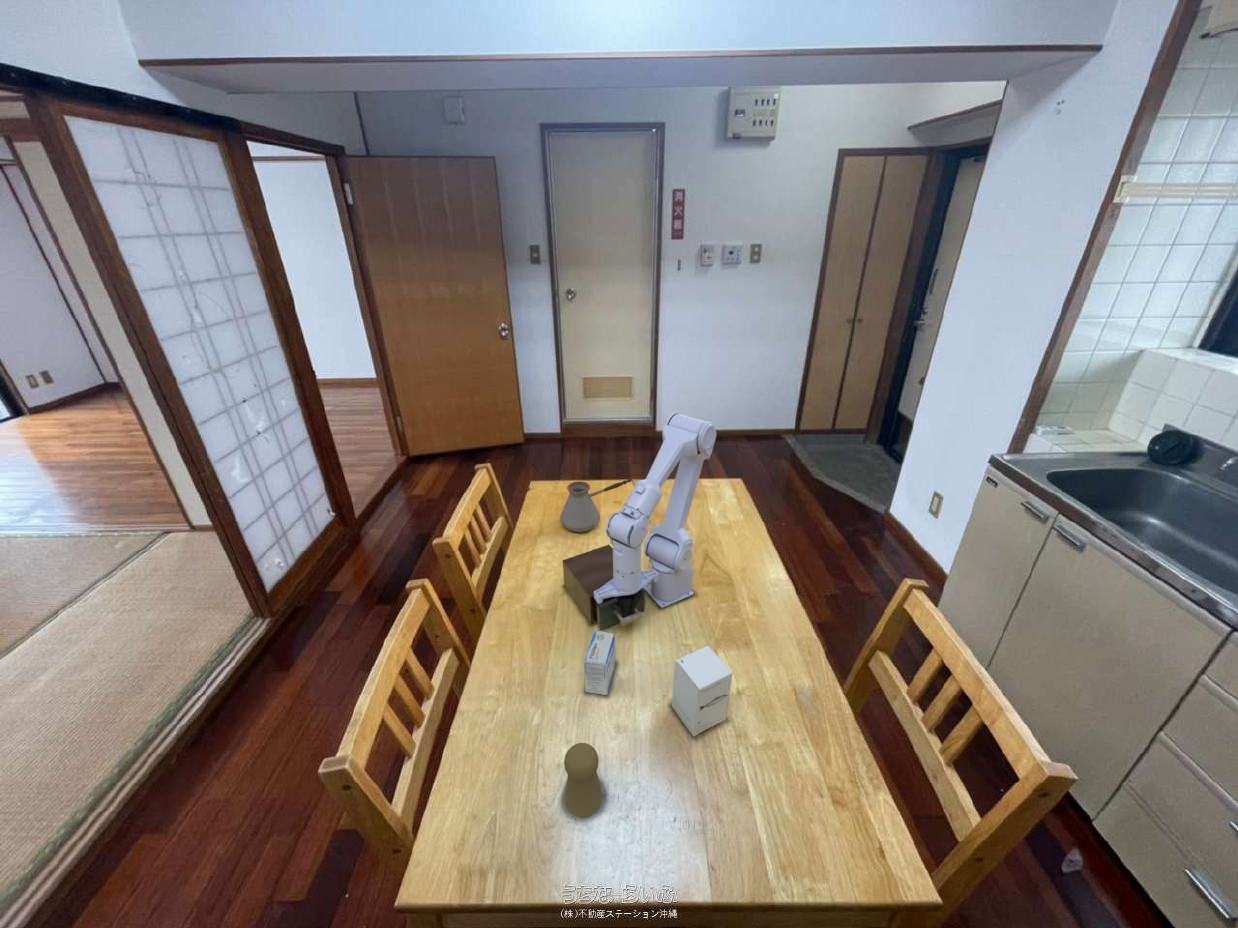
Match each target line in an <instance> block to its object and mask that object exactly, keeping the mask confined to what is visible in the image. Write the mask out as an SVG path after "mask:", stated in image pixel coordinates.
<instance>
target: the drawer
mask: <svg viewBox="0 0 1238 928" xmlns="http://www.w3.org/2000/svg"><path fill="white" fill-rule="evenodd" d="M641 590H642V592H643V597H642V598H641V599H640V600H639V601H638V603H637V605H636V607H635V609H634V612H633V614H632V615H630V616H627V617H624V616H623V614H622V611H621V608H620V605H619V602H618V600H617V598H616V597H609V598H606V599H604V600H603V602H602V603H600V604H598V603H597V602H596V600H595V599H594V598H593V608H594V616H595V618H596V619H597V622H596V623H597V628H598V629H599V631H601V630H604V629H607V628H609V627H611V626H613V625H616V624H618V623H620V625H621V626H626V625H628V624H631V623H633V622H635V621H638V620H640V619H642V618H644V614H643V613H645V602H646V601H645V597H646V591H645V590H644V587H643V588H642V589H641Z"/></svg>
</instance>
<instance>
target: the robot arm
mask: <svg viewBox="0 0 1238 928" xmlns="http://www.w3.org/2000/svg"><path fill="white" fill-rule="evenodd" d="M661 434H662V435H661V436H662V444H661V446H660V448H659V450H658V453H657V454H656V457H655V459H654V461H653V462H652V465H651V467H650V469H649V471H648V473H647V476H646V478H645V479H642V480H639V481H637V483H636V484H635V485H634V488H633V489H632V491H631V493H630V494H629V496H628V497H627V499H626V501H625V503H624V504H623V506H622V507H621V509H620V511H618V512H617V511H616V512H614V513H613V514H612V515H611V516H610V518H609V520H608V521H607V527H606V529H605V534H606V536H607V537H608V538H609V543H610V544H609V545H611V547H612V548H613V579H612V580H610V581H609V582H608V583H606V584H605V585H604V586H602V587H601V588H600V589H598V590H596V591H594V599H595V600H596V602H597V603H598V604H600V603H602V602H603V600H604V599H606V598H609V597H616V598H617V600H618V602H619V605H620V608H621V611H622V614H623V616H624V617H627V616H630V615H632V614H633V612H634V609H635V607H636V605H637V603H638V601H639V600H640V599H641V598H642V597H643V592H642V590H641V589H642V588H643V589H644V590H645V593H647V594H648V595H649V597H650V598H651V599H652V600H653V601H654V602H655V604H657V605H658V606H659V608H660V609H663V608H666V607H669V606H671V605H673V604H675V603H678V602H679V601H682V600H685V599H686V598H689V597H692V596H694V591H693V577H694V569H693V565H692V563H691V560H692V557H693V556H692V555H693V544H694V539H693V537H692V536H691V535H690V533H689V531H687V529H686V526H687V521H688V520H689V519H688V518H689V515H690V511H691V507H692V504H693V501H694V497H695V493H696V490H697V488H698V483H699V479H700V476H701V472H702V469H703V466H704V462H705V460H710V458H711V455H712V453H713V449H714V447H715V442H716V439H717V429H716V427H715V424H714V423H713V421H712V422H711V421H706V420H702V419H699V418H695V417H691V416H688V415H684V414H681V413H680V412H673V413H671V414H669V416H668V417H667V418H666V420H665V422H664V425H663V428H662V432H661ZM678 463H679V464H678ZM677 465H678V467H677V471H676V474H675V477H674V481H673V485H672V489H671V493H670V496H669V499H668V503H667V507H666V510H665V514H664V518H663V521H662V523H659V524H656V525H654V526H653V527H651V530H650V533H649V535H648V532H649V527H650V525H651V520H650V518H651V517H652V515H653V513H654V512H655V510H656V509H657V507H658V505H659V503H660V501H661V499H662V497H663V491H662V487H663V485H664V484H665V482H666V481H667V479H668V478H669V476H670V475H671V474H672V472H673V471H674V469H675V468H676V466H677ZM647 535H648V537H647ZM644 541H645V543H644ZM643 543H644V546H643V549H644V555H645V557H648V562H649V563H650V564H651V569H648V570H642V544H643ZM649 583H650V584H649Z"/></svg>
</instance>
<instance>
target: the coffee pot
mask: <svg viewBox="0 0 1238 928" xmlns="http://www.w3.org/2000/svg"><path fill="white" fill-rule="evenodd" d="M628 483H632V486H635V482H634V479H633V478H627V479H626V480H625V479H624V480H623V481H620V482H616V483H613V484H611V485H608V486H606V487H605V488H602V489H599V490H597V491H594V492H591V493H589V491H590V489H591V485H590V484H589V483H588V482H586V481H583V480H581V481H580V480H578V481H572V482H570V483H568V485H567V487H566V489H567V491H568V492H569V495H568V497H567V498H566V502H565V504H564V506H563V509H562V511H561V513H560V516H559V519H560V520H559V521H560V522H561V524H562V526H563V527H565V528H566V529H567V530H569V531H570V532H573V533H578V534H579V533H580V534H581V533H586V532H588V531H591V530H592V529H593V528H594V527H596V526H597V525H598V523H599V521H600V519H601V514H600V512H599V510H598V508H597V506H596V504H595V502H594V501H593V499H592V498H593V497H595V496H597V495H599V494H602V493H604V492H608V491H611V490H614V489H617V488H619V487H621V486H623V485H627V484H628Z"/></svg>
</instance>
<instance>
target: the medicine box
mask: <svg viewBox="0 0 1238 928" xmlns="http://www.w3.org/2000/svg"><path fill="white" fill-rule="evenodd" d="M615 667H616V633H613V632H606V631H601V630H599V631H598V630H594V631H593V633H592V636H591V639H590V643H589V645H588V648H587V651H586V654H585V657H584V660H583V672H584V673H583V674H584V686H585V687H584V688H585V692H586V693H591V694H596V695H603V696H607V695H609V691H610V687H611V682H612V679H613V675H614V672H615Z"/></svg>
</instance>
